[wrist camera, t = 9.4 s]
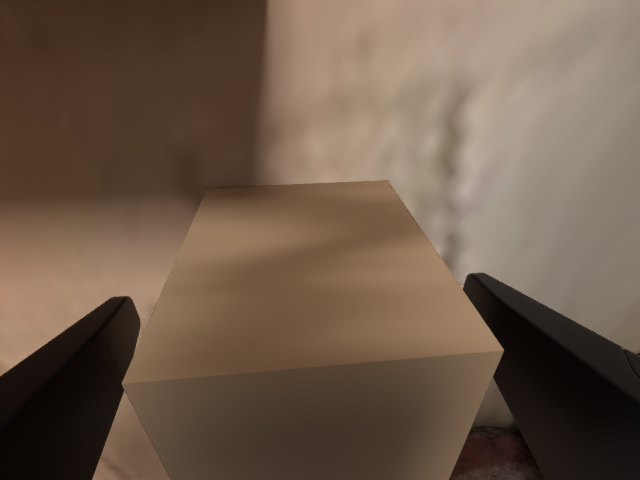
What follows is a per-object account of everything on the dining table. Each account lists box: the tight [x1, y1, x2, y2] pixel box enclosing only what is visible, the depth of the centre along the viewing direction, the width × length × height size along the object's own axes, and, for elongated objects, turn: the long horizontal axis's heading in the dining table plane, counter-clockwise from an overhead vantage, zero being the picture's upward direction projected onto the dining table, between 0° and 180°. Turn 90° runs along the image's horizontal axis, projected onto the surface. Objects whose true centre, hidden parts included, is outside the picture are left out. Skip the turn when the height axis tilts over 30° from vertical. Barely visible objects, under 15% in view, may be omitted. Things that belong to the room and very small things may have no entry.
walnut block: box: [122, 180, 504, 480], centre depth 8 cm, size 5×5×6 cm
